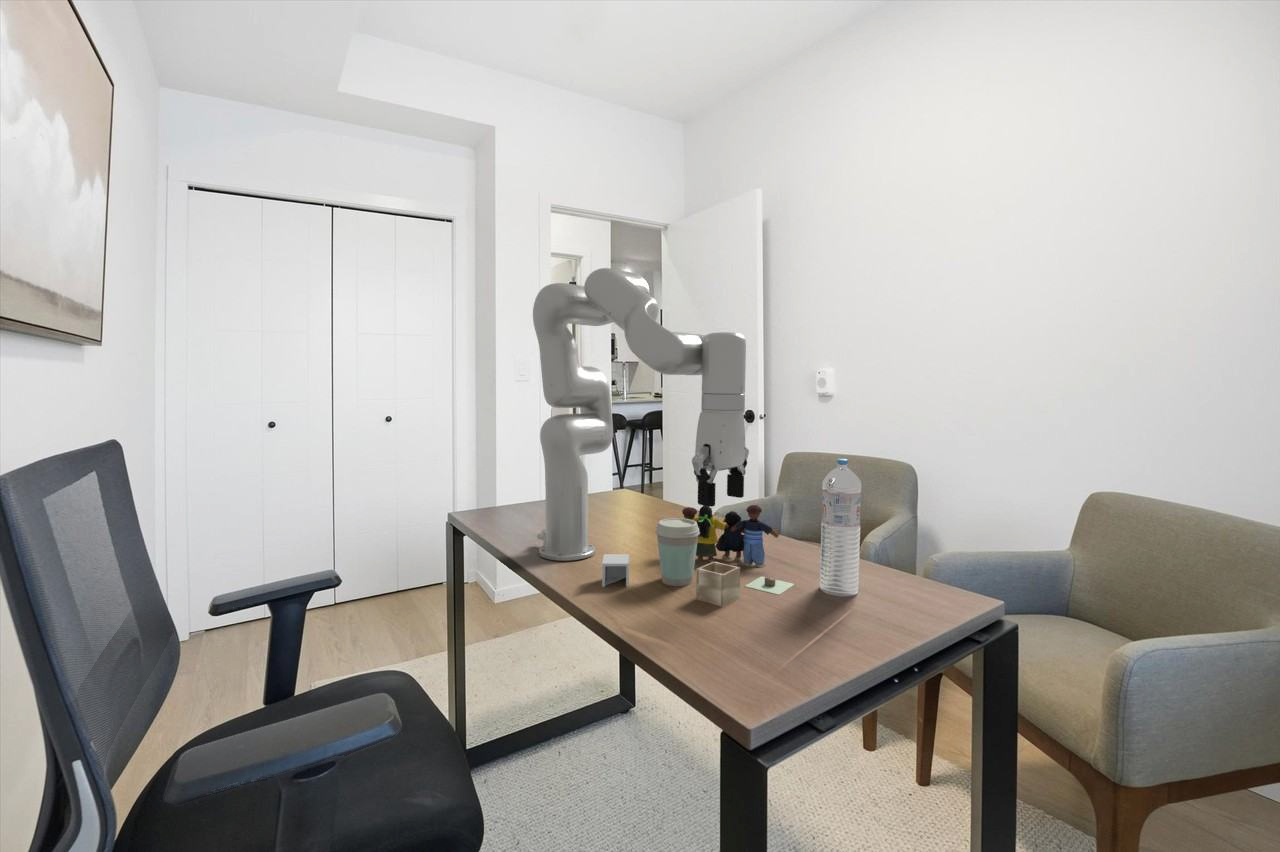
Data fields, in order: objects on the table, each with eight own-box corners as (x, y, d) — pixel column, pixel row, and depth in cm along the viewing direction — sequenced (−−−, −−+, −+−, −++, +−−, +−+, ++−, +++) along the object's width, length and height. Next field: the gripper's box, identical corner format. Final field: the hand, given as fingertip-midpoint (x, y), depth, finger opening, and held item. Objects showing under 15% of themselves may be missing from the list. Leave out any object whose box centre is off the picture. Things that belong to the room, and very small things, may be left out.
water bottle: (830, 583, 116) (834, 456, 114) (864, 592, 111) (869, 459, 109) (812, 592, 111) (816, 459, 109) (847, 602, 106) (851, 463, 104)
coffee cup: (696, 592, 111) (697, 529, 110) (651, 589, 113) (651, 526, 112) (701, 577, 119) (702, 518, 118) (659, 574, 121) (659, 516, 120)
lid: (744, 592, 113) (744, 579, 113) (761, 582, 118) (761, 570, 118) (778, 600, 109) (779, 588, 108) (794, 590, 114) (795, 577, 114)
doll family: (775, 558, 133) (776, 498, 132) (778, 571, 124) (779, 507, 123) (672, 553, 136) (672, 495, 135) (667, 565, 127) (668, 503, 126)
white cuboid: (603, 578, 118) (603, 554, 118) (629, 578, 119) (629, 554, 118) (602, 589, 113) (602, 563, 112) (628, 589, 113) (628, 563, 112)
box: (696, 601, 106) (696, 568, 106) (713, 593, 111) (713, 561, 110) (723, 609, 103) (723, 575, 102) (739, 600, 107) (740, 567, 107)
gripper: (729, 402, 113) (727, 491, 115) (676, 405, 100) (675, 505, 101) (765, 403, 109) (763, 496, 110) (715, 406, 95) (713, 512, 97)
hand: (721, 500), depth 106 cm, fingers open, 9 cm apart
